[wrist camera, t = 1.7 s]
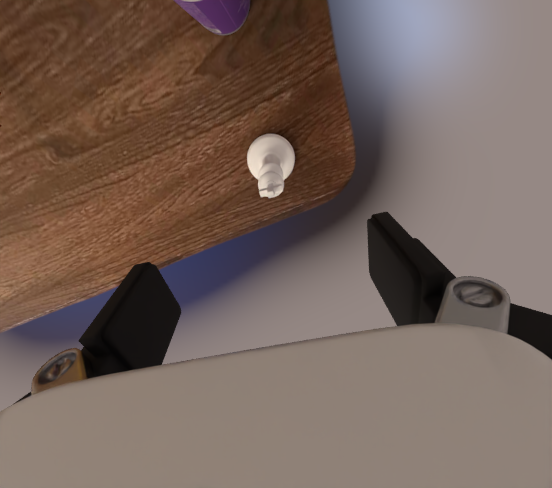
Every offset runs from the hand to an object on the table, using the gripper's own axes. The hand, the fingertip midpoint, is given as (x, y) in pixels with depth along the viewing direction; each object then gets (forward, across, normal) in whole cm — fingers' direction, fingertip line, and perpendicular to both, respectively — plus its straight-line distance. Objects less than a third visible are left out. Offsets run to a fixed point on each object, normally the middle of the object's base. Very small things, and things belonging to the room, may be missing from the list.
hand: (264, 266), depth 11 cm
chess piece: (+18, -1, 0) cm, 18 cm away
